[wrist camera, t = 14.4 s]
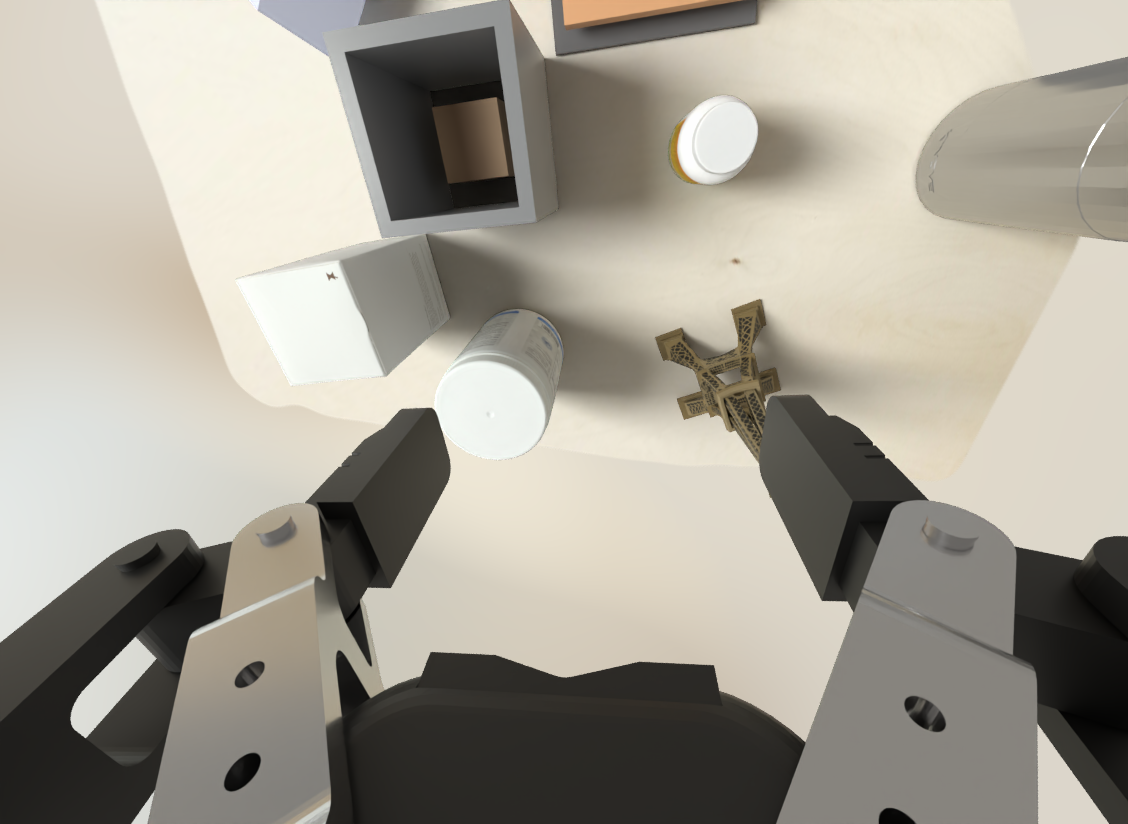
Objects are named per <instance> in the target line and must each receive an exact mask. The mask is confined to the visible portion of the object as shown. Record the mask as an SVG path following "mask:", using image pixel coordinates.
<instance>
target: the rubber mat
mask: <svg viewBox="0 0 1128 824" xmlns="http://www.w3.org/2000/svg"><path fill="white" fill-rule="evenodd" d="M551 5H552V16H553V28H554V39H555V51H556V56H558V55H564V54H570V53H576V52H583V51H589V50H595V49H601V48H608V47H614V46H620V45H626V44H633V43H639V42H645V41H652V40H658V39H664V38H670V37H677V36H683V35H689V34H695V33H702V32H708V31H714V30H720V29H727V28H733V27H739V26H745V25H752V24H754V23H755V20H756V9H757V0H741V1H736V2H730V3H724V4H718V5H712V6H706V7H700V8H695V9H689V10H683V11H677V12H671V13H665V14H659V15H654V16H648V17H642V18H636V19H630V20H624V21H619V22H613V23H607V24H601V25H595V26H589V27H583V28H578V29H572V30H566V29H565V26H564V14H563V1H562V0H551Z"/></svg>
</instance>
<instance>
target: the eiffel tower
mask: <svg viewBox="0 0 1128 824" xmlns="http://www.w3.org/2000/svg"><path fill="white" fill-rule="evenodd" d="M731 311H732V315H733V319H734V323H735V326H736V330H737V334H738V347H737V348H735V349H733V350H731V351H730V352H728V353H726V354H724V355H721V356H718V357H713V358H708V359H700V358H699V357H698V356H697V355H696V354H695V352H694V351H693V350H692V349H691V348H690V346H689V345H688V344H687V343H686V341H685V338H684V335H683V332H682V329H681V328H680V329H677V330H674V331H671V332H669V333H666V334H663V335H660V336H658V337H655V338H656V341H657V344H658V347H659V350H660V353H661V355H662V358H663V361H665V360H671V361H673V362H676V363H678V364H681V365H683V366H686V367H688V368H691V369H693V370H694V371H695V374H696V377H697V380H698V383H699V386H700V389H701V391H700V392H697V393H694V394H691V395H688V396H685V397H681V398H678V399H677V401H678V404H679V407H680V409H681V412H682V415H683V418H684V420H685V419H688V418H691V417H695V416H698V415H701V414H705V413H708V412H709V414H710V417H714V416H716V415H718V416H720V417H722V418H723V421H724V423H725V426H726V429H727V430H728V431H729V432H732V431H735V430H736V432H737V433H738V435H739V436H740V437H741V439H742V440H743V442H744V443H745V444H746V446H747V447H748V449H749V450H750V452H751V453H752V454H753V456H754V457H755V459H756V460H757V461H758V463H759V453H760V446H761V440H762V433H763V427H764V421H765V414H766V410H765V406H764V401H766V399H765V395H767V394H770V393H774V392H777V391H780V390H781V389H780V384H779V380H778V375H777V371H776V368H772V369H769V370H766V371H763V372H760V373H759V371H758V367H757V363H756V358H755V354H754V353H752V345H753V343H754V342H755V340H756V338H757V336H758V334H759V332H760V330H761V328H763V327H762V326H765V325H766V322H765V318H764V313H763V309H762V304H761V300H760V299H759V300H756V301H753V302H750V303H748V304H745V305H742V306H740V307H737V308H734V309H731ZM739 367H740V368H741V379H742V381H739V382H736V383H733V384H730V385H727V386H726V385H725V384H724V383H723V382H722V381H721V380H720V379H719V378H718V377H717V376H716V375H717V374H720V373H723V372H726V371H729V370H732V369H735V368H739ZM753 424H754V425H753ZM769 495H770V494H769ZM770 498H771V496H770Z"/></svg>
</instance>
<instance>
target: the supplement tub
mask: <svg viewBox="0 0 1128 824" xmlns="http://www.w3.org/2000/svg"><path fill="white" fill-rule="evenodd" d="M563 357H564V349H563V344H562V340H561V337H560V335H559V333H558V331H557V330H556V328H555V327H554V326H553V325H552V324H551V323H550V322H549V321H548V320H547V319H546V318H544V317H543V316H541V315H540V314H538V313H535V312H533V311H530V310H525V309H511V310H506V311H503V312H500V313H498V314H496V315H494V316H493V317H491V318H490V319H489V320H488V321H487V322H486V323H485V324H484V325H483V327H482V328H481V329H480V330H479V332H478V333H477V334H476V335H475V336H474V338H473V339H472V340H471V341H470V343H469V344H468V345H467V346H466V347H465V349H464V350H463V351H462V352H461V353H460V355H459V356H458V357H457V358H456V360H455V361H454V362H453V363H452V365H451V366H450V367H449V369H448V370H447V371H446V373H445V375H444V376H443V378H442V380H441V382H440V384H439V386H438V389H437V391H436V396H435V412H436V413H437V416H438V419H439V422H440V426H441V428H442V430H443V431H444V433H445V434H446V435H447V436H448V438H449V439H450V440H451V441H452V442H453V443H455V444H456V445H457V446H458V447H460V448H461V449H463V450H464V451H466V452H468V453H470V454H472V455H475V456H478V457H481V458H485V459H492V460H506V459H512V458H515V457H518V456H521V455H523V454H525V453H527V452H528V451H530V450H531V449H532V448H533V447H534V446H535V445H536V444H537V443H538V442H539V441H540V439H541V438H542V436H543V434H544V432H545V429H546V427H547V425H548V423H549V419H550V416H551V412H552V408H553V403H554V399H555V394H556V390H557V386H558V382H559V377H560V372H561V368H562V364H563Z"/></svg>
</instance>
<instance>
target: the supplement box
mask: <svg viewBox="0 0 1128 824" xmlns="http://www.w3.org/2000/svg"><path fill="white" fill-rule="evenodd" d="M235 281H236V283H237V284H238V286H239V288H240V290H241V292H242V294H243V296H244V297H245V299H246V301H247V303H248V305H249V307H250V309H251V311H252V313H253V314H254V316H255V318H256V320H257V322H258V324H259V326H260V328H261V330H262V331H263V333H264V335H265V337H266V339H267V341H268V343H269V345H270V347H271V349H272V351H273V352H274V354H275V356H276V358H277V360H278V362H279V364H280V366H281V368H282V370H283V372H284V374H285V376H286V377H287V379H288V381H289V383H290V385H291V386H296V385H306V384H314V383H323V382H332V381H342V380H352V379H363V378H375V377H386V376H387V375H388V374H389V373H390V372H391V371H392V370H393V369H394V368H396V367H397V366H398V365H399V364H400V363H401V362H402V361H403V360H404V359H405V358H406V357H408V356H409V355H410V354H411V353H412V352H413V351H414V350H415V349H416V348H418V347H419V346H420V345H421V344H422V343H423V342H424V341H425V340H426V339H427V338H429V337H430V336H431V335H432V334H433V333H434V332H435V331H436V330H438V329H439V328H440V327H441V326H442V325H443V324H444V323H445V322H447V321H448V320H449V319H450V315H449V312H448V308H447V305H446V301H445V298H444V295H443V291H442V288H441V284H440V281H439V278H438V274H437V271H436V267H435V264H434V261H433V257H432V254H431V251H430V247H429V244H428V240H427V237H426V235H425V234H419V235H410V236H401V237H395V238H389V239H383V240H377V241H371V242H365V243H360V244H356V245H352V246H348V247H345V248H341V249H337V250H334V251H330V252H327V253H323V254H320V255H316V256H313V257H309V258H306V259H302V260H299V261H295V262H292V263H288V264H285V265H281V266H278V267H275V268H271V269H268V270H264V271H261V272H257V273H254V274H250V275H247V276H243V277H240V278H237V279H235Z"/></svg>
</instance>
